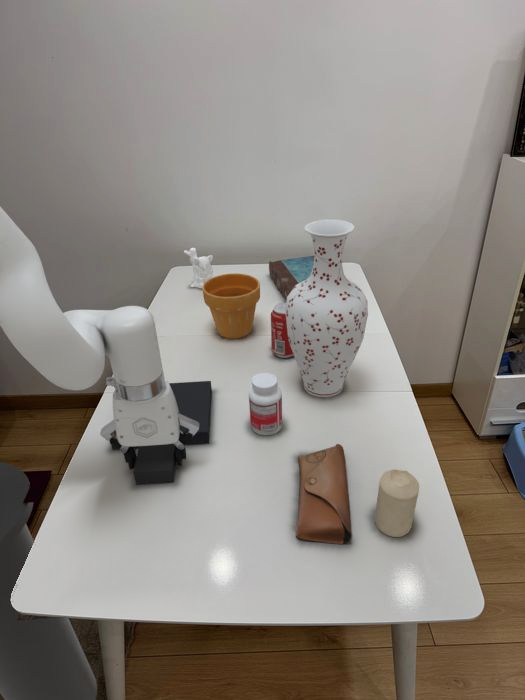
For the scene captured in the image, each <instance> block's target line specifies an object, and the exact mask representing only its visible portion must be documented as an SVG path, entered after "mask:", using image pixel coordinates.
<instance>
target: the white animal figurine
mask: <svg viewBox="0 0 525 700" xmlns="http://www.w3.org/2000/svg"><path fill="white" fill-rule="evenodd" d="M183 253H184V254H185V255H187V256H188V257H190V258H189V262H190V263H191V265H192V272H193V276H192V279H193V283H192V284H190V288H197V289H201V290H203V289H202V287H203V284H204V283H205V282H206V281H207V280H209V279H211V278H213V277H214V276H213V275H214V268H213V266H212V264H211V262H213V260H214V256H213V255H212V254H208V256H204V255H203V256H199V257H198V254H197V249H196V248H195V247H191V248H190V249H189V250H186V249H185V250H183Z"/></svg>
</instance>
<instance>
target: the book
mask: <svg viewBox="0 0 525 700" xmlns="http://www.w3.org/2000/svg"><path fill="white" fill-rule="evenodd" d="M314 257H315V255H309V256H301V257H294V258H286V259H279V260H275V261H271V260H270V261H269V262H268V271H269V276H270V277H271V279H272V281H273V282H274V284H275V286H276V287H277V288H278V290H279V292H280V293H281V294H282V297H283V298H284V299H285V301H286V300H287V296H288V295H289V294H290V292H291V291H292V290H293V288H294V287H295V286H296V285H297V284H299V283H301V282H303V281H305V280H306V279H308V278H309V277H310V275H311V272H312V269H313V266H314Z"/></svg>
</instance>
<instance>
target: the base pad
mask: <svg viewBox="0 0 525 700" xmlns="http://www.w3.org/2000/svg"><path fill="white" fill-rule="evenodd" d="M168 383H169V385H170V387H171V389H172V391H173V394H174V397H175V400H176V403H177V406H178V410H179V414H182V415H184V416H186V417H188V418H190V419H193V420H195V421H197V422H199V430H198V431H197V432H196V434H195V435H194V436H193V438H192V440H190V441H189V442H188V443H187V444H186V445H185V446H193V445H195V446H196V445H209V444H210V435H211V417H212V398H213V390H212V381H211V380H202V381H200V380H199V381H185V382H184V381H183V382H168ZM179 429H180V430H181V431H182V432H183V433H184V432H185V431H186V430H187V429H188V428H186V427H183V426H181V425H180V426H179ZM114 433H116V430H115V431H114ZM110 446H111V450H113V451H114V450H115V451H116V450H120V449H119V448H117V447H115V446H113V445H112V444H110ZM134 447H135V449H139V446H134Z"/></svg>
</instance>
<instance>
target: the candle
mask: <svg viewBox="0 0 525 700" xmlns="http://www.w3.org/2000/svg"><path fill="white" fill-rule="evenodd" d="M419 491H420V483H419V481H418V479H417V478H416V477H415V476H414V475H413V474H411V473H410V472H409V471H408V470H404V469H397V468H396V469H395V468H394V469H389V470H387V471H384V472H383V473H382V475H381V476H380V479H379V483H378V492H377V499H376V506H375V513H374V522H375V525H376V527H377V529H378V530H379V531H380V532H381V533H383V535H386V536H389V537H392V538H400V537H404V536H406V535H407V534H409V533H410V531H411V529H412V525H413V522H414V517H415V513H416V512H415V511H416V506H417V501H418V496H419Z"/></svg>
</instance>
